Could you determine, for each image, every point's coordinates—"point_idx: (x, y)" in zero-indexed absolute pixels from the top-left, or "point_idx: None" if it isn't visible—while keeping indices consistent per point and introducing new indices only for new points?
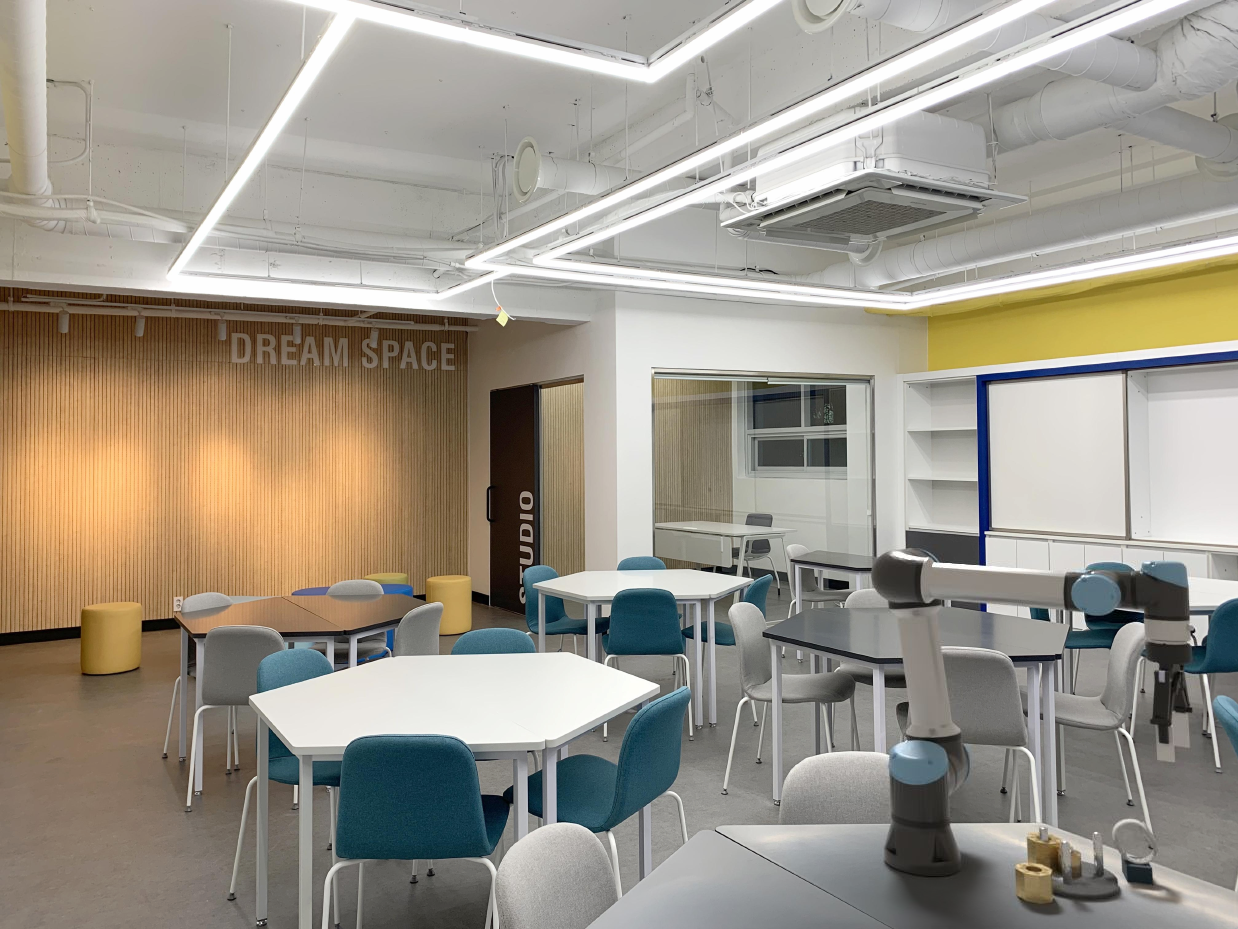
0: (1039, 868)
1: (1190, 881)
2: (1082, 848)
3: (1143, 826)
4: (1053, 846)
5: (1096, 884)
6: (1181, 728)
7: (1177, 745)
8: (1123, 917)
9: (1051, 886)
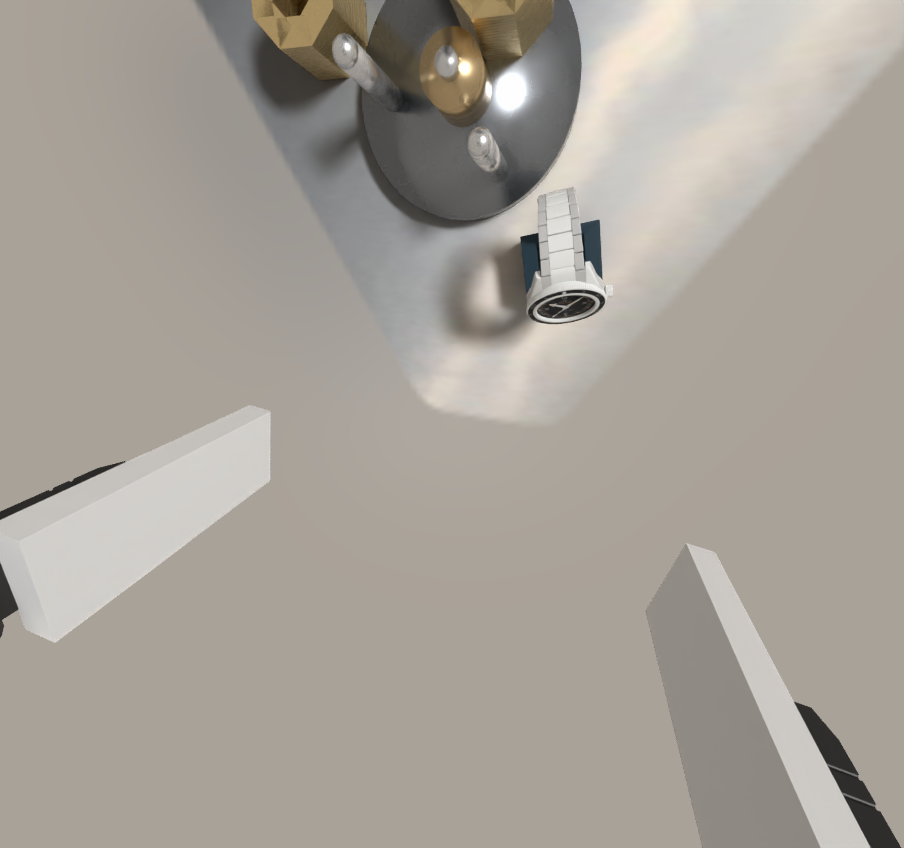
0: (308, 4)
1: (588, 369)
2: (773, 89)
3: (540, 287)
4: (455, 2)
5: (420, 170)
6: (699, 713)
7: (672, 567)
8: (333, 237)
9: (302, 63)
